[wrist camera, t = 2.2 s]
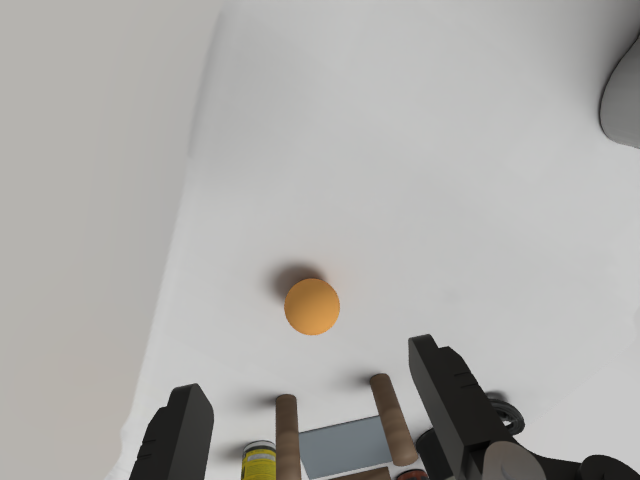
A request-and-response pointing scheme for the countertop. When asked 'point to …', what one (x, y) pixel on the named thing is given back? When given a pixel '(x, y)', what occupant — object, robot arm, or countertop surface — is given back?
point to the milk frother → (435, 455)
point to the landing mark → (344, 447)
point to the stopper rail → (368, 475)
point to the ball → (312, 306)
